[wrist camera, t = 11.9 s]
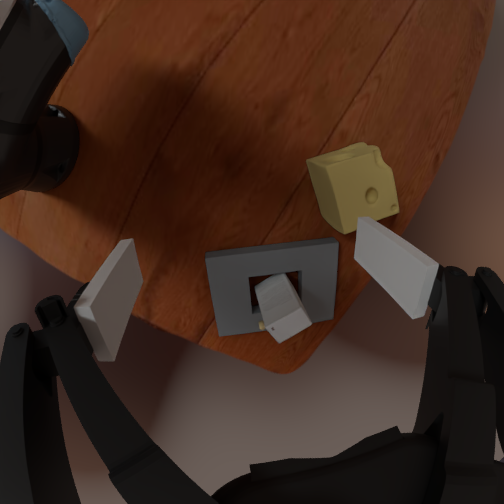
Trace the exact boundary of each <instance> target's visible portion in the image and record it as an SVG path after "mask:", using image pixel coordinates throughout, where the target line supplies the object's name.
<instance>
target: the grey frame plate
mask: <svg viewBox="0 0 504 504" xmlns="http://www.w3.org/2000/svg"><path fill="white" fill-rule="evenodd" d="M338 247H339V242H338V241H337V240H336V239H335V238H334V237H331V238H322V239H313V240H304V241H296V242H287V243H279V244H270V245H262V246H253V247H245V248H236V249H228V250H220V251H211V252H206V253H205V261H206V267H207V273H208V279H209V285H210V290H211V296H212V301H213V307H214V312H215V317H216V323H217V328H218V333H219V336H227V335H235V334H243V333H251V332H258V331H266V330H267V329H266V328H265V325H264V321H263V318H262V314H261V310H260V307H259V305H256V306H251V297H250V287H249V277H255V276H262V275H270V274H278V273H285V272H293V271H298V296H299V298H300V300H301V302H302V304H303V306H304V308H305V310H306V312H307V314H308V316H309V318H310V320H311V322H312V323H315V322H320V321H325V320H331V319H333V315H334V305H335V293H336V280H337V266H338Z"/></svg>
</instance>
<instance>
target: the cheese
mask: <svg viewBox="0 0 504 504" xmlns="http://www.w3.org/2000/svg"><path fill="white" fill-rule="evenodd" d="M306 163H307V166H308V170H309V174H310V177H311V181H312V184H313V188H314V191H315V194H316V197H317V201H318V204H319V208H320V212H321V215H322V216H323V218H324V219H325V220H326V221H327V222H328V223H329V224H330V225H331V226H332V227H333V228H334V229H336V230H337V231H338V232H340V233H343V234H347V233H350V232H353V231H355V230H357V223H358V217H370V218H372V219H373V220H375V221H377V220H380V219H383V218H385V217H388V216H391V215H394V214H397V213H399V206H398V199H397V192H396V187H395V182H394V177H393V172H392V170H391V168H390V167H389V166H388V165H386V164H385V163H384V161H383V159H382V157H381V152H380V149H379V148H378V147H377V146H374V145H371V146H367V144H365V143H362V142H361V143H356V144H353V145H350V146H348V147H345V148H343V149H340V150H336V151H333V152H330V153H326V154H323V155H320V156H317V157H313V158H310V159H307V160H306Z"/></svg>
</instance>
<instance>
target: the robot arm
mask: <svg viewBox="0 0 504 504" xmlns="http://www.w3.org/2000/svg"><path fill="white" fill-rule="evenodd" d="M88 36H89V31H88V27H87V25H86V23H85V22H84V21H83V19H82V18H81V17H80V16H79V15H78V14H77V13H76V12H75V11H74V10H73V9H72V8H71V7H69V6H68V5H67V4H66V3H64V2H63V1H61V0H0V199H1V198H4V197H6V196H8V195H10V194H12V193H15V192H17V191H19V190H26V191H32V192H44V191H48V190H50V189H53V188H55V187H57V186H58V185H60V184H61V183H62V182H63V181H65V179H66V178H67V177H68V176H69V174H70V173H71V171H72V169H73V167H74V165H75V162H76V159H77V156H78V150H79V132H78V128H77V124H76V122H75V120H74V118H73V116H72V115H71V114H70V112H69V111H68V110H66V109H65V108H63V107H61V106H58V105H51V104H47V103H48V101H49V100H50V98H51V96H52V94H53V93H54V91H55V89H56V87H57V86H58V84H59V83H60V81H61V79H62V78H63V76H64V75H65V73H66V72H67V70H68V69H69V67H70V66H72V65H73V64H74V61H75V58H76V56H77V55H78V53H79V52H80V50H81V49H82V47H83V46H84V45H85V43H86V41H87V39H88ZM354 259H355V260H356V261H357V262H358V263H359V264H360V265H361V266H362V267H363V268H364V269H365V270H366V271H367V272H368V273H369V274H370V275H371V276H372V277H373V278H374V279H375V280H376V281H377V282H378V283H379V284H380V285H381V286H382V287H383V288H384V289H385V290H386V291H387V292H388V293H389V294H390V295H391V297H392V298H393V299H394V300H395V301H396V302H397V303H398V304H399V305H400V306H401V307H402V308H403V309H404V310H405V312H406V313H407V314H408V315H409V316H410V317H411V318H412V319H415V318H419V317H422V316H424V314H425V312H426V308H427V306H428V305H429V306H430V307H431V308H432V311H431V314H430V317H429V320H428V323H427V326H426V329H427V328H428V327H429V338H428V349H427V358H426V367H425V374H424V381H423V387H422V393H421V398H420V404H419V409H418V413H417V418H416V422H415V426H414V429H413V432H412V433H400V431H399V429H398V427H397V426H395V427H393V428H390V429H387V430H385V431H382V432H380V433H377V434H374V435H372V436H369V437H366V438H364V439H363V440H361V441H360V442H358V443H357V444H355V445H353V446H352V447H350V448H348V449H347V450H345V451H343V452H341V453H340V454H338V455H336V456H334V457H330V458H304V459H303V458H302V459H301V458H296V459H295V458H289V459H284V460H278V461H272V462H266V463H258V464H251V465H250V471H251V473H248V474H246V475H242V476H240V477H238V478H236V479H234V480H232V481H230V482H228V483H227V484H225V485H224V486H222V487H221V488H220V489H218V490H217V491H216V492H215V493H214V494H213V495H212V496H209V495H208V494H207V493H206V492H205V491H203V490H202V489H201V488H200V487H199V486H198V485H197V484H196V483H195V482H194V481H192V480H191V479H190V478H189V477H188V476H187V475H186V474H185V473H184V472H183V471H182V470H181V469H180V468H179V467H178V466H177V465H176V464H175V463H174V462H173V461H172V460H171V459H170V458H169V457H168V456H167V455H166V454H165V452H164V451H163V450H162V449H161V448H160V447H159V446H158V445H156V444H155V443H154V442H153V441H152V439H151V438H150V437H149V436H148V435H147V434H146V432H145V431H144V430H143V429H142V427H141V426H140V425H139V424H138V422H137V421H136V420H135V419H134V417H133V416H132V415H131V414H130V412H129V411H128V410H127V408H126V407H125V406H124V404H123V403H122V402H121V400H120V399H119V397H118V396H117V394H116V393H115V392H114V390H113V389H112V387H111V386H110V384H109V383H108V381H107V380H106V378H105V377H104V375H103V374H102V372H101V370H100V369H99V367H98V366H97V364H96V362H95V361H94V359H93V357H92V353H93V351H94V353H95V355H96V357H97V359H98V360H99V361H114V360H115V357H116V354H117V351H118V348H119V345H120V342H121V339H122V336H123V334H124V331H125V328H126V325H127V322H128V320H129V317H130V314H131V311H132V309H133V306H134V303H135V301H136V298H137V296H138V293H139V291H140V288H141V286H142V283H143V279H142V275H141V271H140V267H139V263H138V258H137V254H136V250H135V245H134V241H133V239H125V240H120V242H119V243H118V244H117V246H116V247H115V248H114V250H113V251H112V252H111V254H110V255H109V256H108V258H107V259H106V260H105V262H104V263H103V265H102V266H101V267H100V269H99V270H98V271H97V273H96V274H95V276H94V277H93V279H92V280H91V282H87V283H86V284H84V285H83V286H82V287H81V288H80V289H79V290H78V292H77V293H76V295H75V296H74V297H73V299H72V301H71V302H70V303H69V305H68V307H67V308H66V305H65V303H64V301H63V298H62V297H61V296H59V295H53V296H49V297H47V298H45V299H43V300H41V301H40V302H39V303H38V304H37V305H36V307H35V312H36V314H37V317H38V319H39V321H40V323H41V325H42V327H43V329H42V330H39V331H34V332H32V331H31V329H30V327H29V325H28V324H27V323H19V324H17V325H14V326H13V327H11V328H10V330H9V331H8V332H7V335H6V338H5V342H4V347H3V352H2V356H1V362H0V504H81V502H80V499H79V496H78V493H77V489H76V486H75V483H74V479H73V476H72V472H71V468H70V464H69V460H68V456H67V451H66V447H65V442H64V436H63V431H62V424H61V418H60V411H59V402H58V392H57V380H56V376H58V375H59V376H60V378H61V381H62V383H63V386H64V388H65V390H66V393H67V395H68V397H69V399H70V402H71V404H72V406H73V408H74V410H75V412H76V414H77V416H78V418H79V420H80V422H81V424H82V426H83V428H84V429H85V431H86V433H87V435H88V437H89V439H90V440H91V442H92V444H93V445H94V447H95V449H96V450H97V452H98V454H99V455H100V457H101V459H102V460H103V462H104V463H105V465H106V466H107V468H108V470H109V471H110V473H109V474H108V475H109V478H110V479H111V481H112V483H113V485H114V486H115V488H116V489H117V490H118V492H119V493H120V494H121V495H122V497H123V498H124V500H125V501H126V502H127V503H128V504H504V457H503V458H502V459H501V460H500V461H496V460H494V452H495V438H496V437H495V436H496V429H497V433H498V438H499V441H500V444H501V448H502V451H503V453H504V284H503V282H502V281H501V279H500V278H499V277H498V276H497V274H496V273H495V272H494V271H492V270H491V269H490V268H487V267H478V268H477V269H476V273H475V276H468V275H467V273H466V272H465V271H464V270H462V269H460V268H458V267H454V266H447V267H445V268H444V267H443V266H441V265H440V264H439V263H437V262H436V261H434V260H433V259H431V258H430V257H429V256H428V255H426V254H425V253H423V252H422V251H421V250H419V249H417V248H415V247H414V246H413V245H411V244H410V243H409V242H407V241H406V240H404V239H402V238H401V237H400V236H398V235H397V234H395V233H394V232H392V231H391V230H389V229H387V228H386V227H384V226H383V225H381V224H380V223H378V222H376V221H375V220H373V219H372V218H370V217H358V223H357V234H356V245H355V254H354ZM487 305H488V306H487ZM486 307H487V311H486V314H485V310H486ZM484 379H485V380H484Z"/></svg>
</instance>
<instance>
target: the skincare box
mask: <svg viewBox="0 0 504 504" xmlns="http://www.w3.org/2000/svg"><path fill="white" fill-rule="evenodd" d="M254 288H255V292H256V295H257V299H258V303H259V307H260V310H261V314H262V318H263V321H264V325H265V328H266V329H267V331H268V332H269V333H270V334H271V335H272V336H273V337H274V338H275V340H276V341H277V342H278V343H281V342H283V341H284V340H286V339H288V338H290V337H291V336H293V335H295V334H297V333H298V332H300V331H302V330H304V329H305V328H307V327H309V326H310V325H312V322H311V320H310V318H309V316H308V314H307V312H306V310H305V308H304V306H303V304H302V302H301V300H300V298H299V296H298V294H297V292H296V290H295V288H294V286H293V285H292V283H291V282H290V280H289V278H288V277H287V275H286V274H285V273H278V274H274V275H272V276H270V277H269V278H267V279H266V280H264V281H262V282H261V283H259V284H257V285H256V286H254Z"/></svg>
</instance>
